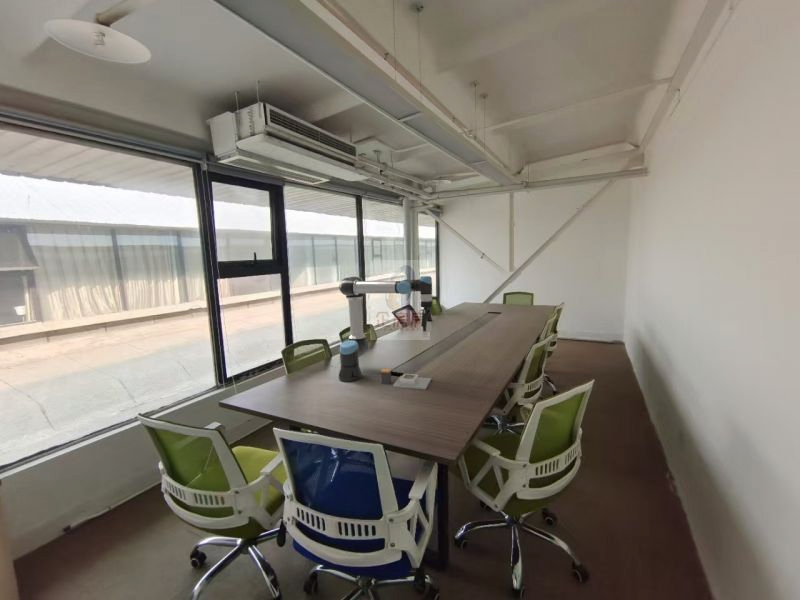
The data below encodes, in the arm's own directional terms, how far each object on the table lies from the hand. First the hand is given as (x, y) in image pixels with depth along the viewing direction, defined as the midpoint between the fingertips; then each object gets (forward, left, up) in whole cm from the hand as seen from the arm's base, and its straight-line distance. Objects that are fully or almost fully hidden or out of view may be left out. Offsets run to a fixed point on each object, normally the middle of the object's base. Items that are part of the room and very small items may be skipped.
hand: (427, 334), depth 213 cm
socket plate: (-7, -15, -27) cm, 32 cm away
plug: (-23, -17, -27) cm, 39 cm away
